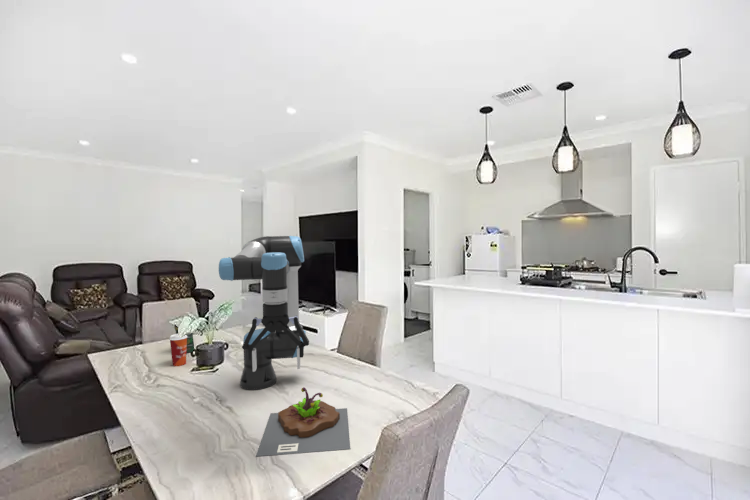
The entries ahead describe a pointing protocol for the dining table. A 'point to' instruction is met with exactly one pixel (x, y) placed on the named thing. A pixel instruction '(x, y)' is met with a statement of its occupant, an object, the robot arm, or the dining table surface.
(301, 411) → the plant
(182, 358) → the coffee cup
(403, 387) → the dining table surface
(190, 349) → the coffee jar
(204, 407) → the dining table surface
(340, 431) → the label mat
